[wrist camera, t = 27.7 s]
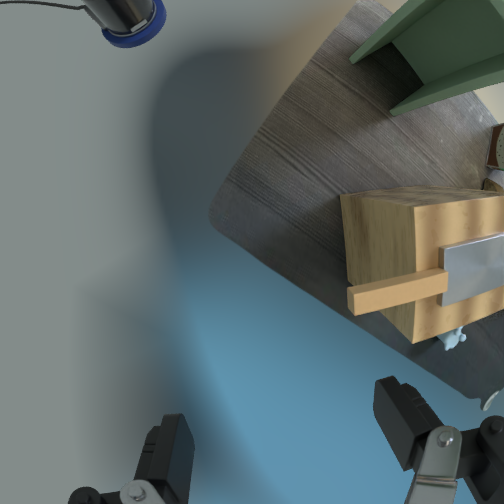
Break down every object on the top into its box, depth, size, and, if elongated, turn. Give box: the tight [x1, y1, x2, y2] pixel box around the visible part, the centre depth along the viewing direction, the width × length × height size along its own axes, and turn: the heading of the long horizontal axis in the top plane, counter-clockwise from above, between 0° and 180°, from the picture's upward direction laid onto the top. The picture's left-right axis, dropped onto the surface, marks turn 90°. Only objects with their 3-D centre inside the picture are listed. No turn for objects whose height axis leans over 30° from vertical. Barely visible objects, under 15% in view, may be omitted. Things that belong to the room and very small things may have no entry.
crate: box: [340, 185, 504, 344], centre depth 36 cm, size 16×14×22 cm
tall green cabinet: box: [349, 0, 504, 117], centre depth 25 cm, size 12×12×32 cm
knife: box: [347, 232, 504, 316], centre depth 25 cm, size 23×6×2 cm, turn 99°
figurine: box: [437, 326, 466, 351], centre depth 49 cm, size 4×8×6 cm, turn 143°
